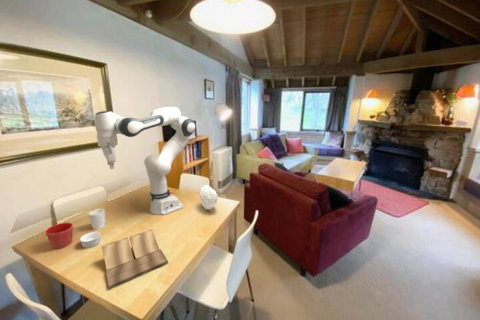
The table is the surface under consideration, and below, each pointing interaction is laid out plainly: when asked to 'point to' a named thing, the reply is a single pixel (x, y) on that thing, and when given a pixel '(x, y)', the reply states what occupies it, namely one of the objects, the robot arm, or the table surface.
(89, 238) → the ramekin
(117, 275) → the floor strip
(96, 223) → the white cup
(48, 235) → the flower pot
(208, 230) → the table surface
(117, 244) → the plank
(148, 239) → the plank
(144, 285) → the table surface
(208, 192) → the white lumpy rounded piece
